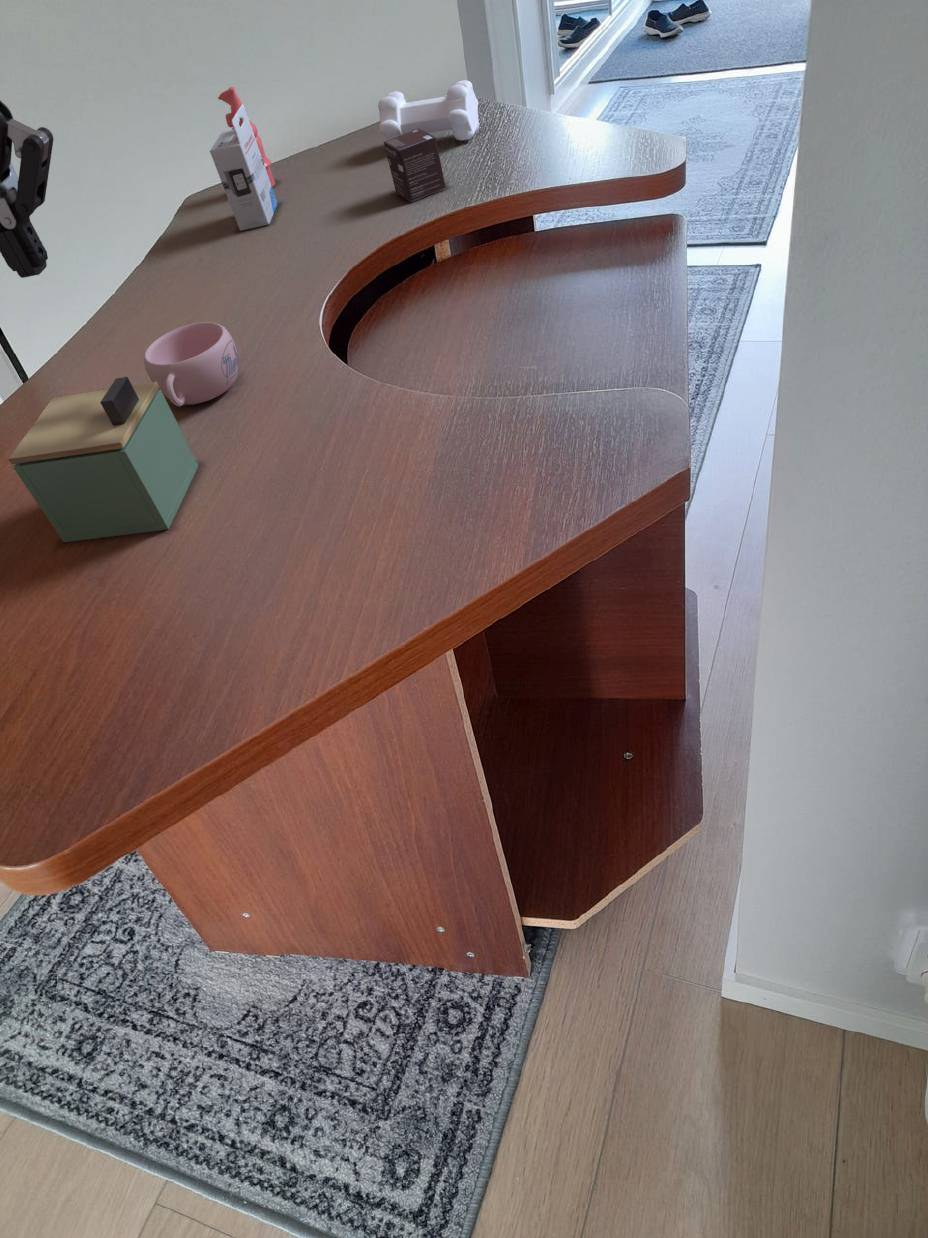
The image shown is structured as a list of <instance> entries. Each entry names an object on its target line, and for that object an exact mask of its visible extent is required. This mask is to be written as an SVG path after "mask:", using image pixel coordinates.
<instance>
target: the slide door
mask: <svg viewBox="0 0 928 1238" xmlns="http://www.w3.org/2000/svg"><path fill="white" fill-rule="evenodd" d="M158 388H159V385H158V383H157V382H152V381H150V382H145V383H139V384H132V383H131V381H130V378H129V377H128V376H123V377H117V378H115V379H114V381H113V382H112V383H111V385H110V387H109V388H107V389H100V390H94V391H89V392H83V393H74V394H70V395H63V396H56V397H52V398H51V400H50V401H49V402H48V404H47V405H46V406H45V408H44V409H43V411H42V412H41V413H40V414H39V416H38V418H37V419H36V420H35V421H34V422H33V424H32V426H31V427H30V428H29V430H28V431H27V432H26V433H25V435H24V437H23V438H22V439H21V441H20V442H19V444H18V445H17V446H16V447H15V449H14V450H13V452H12V453H11V454H10V456H9V457H8V458H7V460H8V461H9V463H10V464H11V465H15V464H17V463H24V462H31V461H38V460H45V459H52V458H59V457H66V456H72V455H79V454H86V453H93V452H100V451H107V450H114V449H121V448H124V446H125V445H126V443H127V441H128V440H129V438H130V436H131V435H132V433H133V431H134V429H135V428H136V426H137V424H138V423H139V421H140V419H141V417H142V416H143V414H144V412H145V411H146V409H147V407H148V405H149V404H150V402H151V400H152V399H153V397H154V395H155V393H156V392H157V390H158Z"/></svg>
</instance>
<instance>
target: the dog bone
mask: <svg viewBox="0 0 928 1238" xmlns="http://www.w3.org/2000/svg"><path fill="white" fill-rule="evenodd" d="M377 107H378V112H379V113H378V114H379V128H378V129H379V131H380V133H381V134H382V136H383V138H384V140H385V141H387V140H390V139H392V138H395V137H398V136H400V135H403V134H406V133H408V132H411V131H413V130H416V129H421V130H423V131H426V132H428V133H429V134H430V133H434V132H442V131H448V130H452V132H453V136H454V138H455V140H458V141H467V140H470V139H472V138H473V137H474V135H475V134H476V133H477V132H478V131H479V129H480V122H479V108H478V107H479V99H478V98H477V96H476V94H475V91H474V88H473V83H472V82H471V81H470V80H467V79H464V80H458V81H456V82H454V83H453V85H451V86H450V87H449V88H448V89H447V91H446V95H445V96H440V97H433V98H427V99H421V100H414V101H408V102H407V100H406V98H405V95H404V94H403V92H401V91H391V92H389V93H387V94H385V96H383V97H382V98H381V99H379V101H378V103H377Z"/></svg>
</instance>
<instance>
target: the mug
mask: <svg viewBox="0 0 928 1238" xmlns="http://www.w3.org/2000/svg"><path fill="white" fill-rule="evenodd" d="M143 365H144V368H145V371H146V374H147V376H148V377H149V379H150V382H157V383H158V385H159V388H158V390H161V391H162V393H163V395H164V397H165V398H167V399H169V400H170V402H171V403H172V404H173V405H174V406H177V407H182V406H185V405H186V406H187V405H188V406H189V405H197V404H198V405H199V404H201V403H205V402H209V401H211V400H213V399H215V398H217V397H219V396H221V395H223V394H224V393H226V392H227V391H228V390H230V389H231V387H232V386H234V384H235V382H236V380H237V377H238V375H239V355H238V350H237V346H236V343H235V341H234V339H233V337H232V335H231V334H230V332H229V330H227V328H226V327H225V326H223V325H222V324H219V323H216V322H212V321H203V322H194V323H189V324H186V325H183V326H179V327H177V328H174V329H173V330H170V331H168V332H166V333H164V334H162V335H161V336H159V337H158V338H157V339H155V340H154V341H153V342H151V344H150V345H149V346H148V347H147V348H146V350H145V352H144V355H143Z"/></svg>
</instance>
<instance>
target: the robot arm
mask: <svg viewBox="0 0 928 1238" xmlns="http://www.w3.org/2000/svg"><path fill="white" fill-rule="evenodd" d="M53 146H54V135H53V133H52V131H51V130H50V129H48V127H47V128H46V127H44V126H40V127H38V128H37V129H34V128H32V127H30V126H28V125H26V124H24V123H22V122H20V121H18V120H17V119H14V116H13V114H12V112H11V110H10V108H9V106H7V105H6V104H5V103H4V102H3V101H2V100H1V99H0V254H1V257H2V258H3V259H4V261H5V264H6V265H7V266H8V268H9V269H10V270H11V271H12V272H16V273H17V276H18V277H20V278H22V279H24V278H29V277H33V276H39V275H41V274H42V272H44V270H45V269H46V268H47V265H48V264H47V260H48V259H49V257H48V252H47V250H46V248H45V246H44V244H43V242H42V240H41V239H40V236H39V234H38V232H37V231H36V229H35V227H34V225H33V223H32V222H31V215H33V213H35V211H36V210H37V209H38V208H39V207H41V206H42V205H44V203H45V201H46V195H47V188H48V181H49V174H50V167H51V160H52V152H53ZM13 149H14V155H15V157H16V158H18V159H20V163H19V170H18V171H19V172H18V174H17V171H16V170H15V168H14V166H13V164H12V152H13V151H12V150H13Z"/></svg>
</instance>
